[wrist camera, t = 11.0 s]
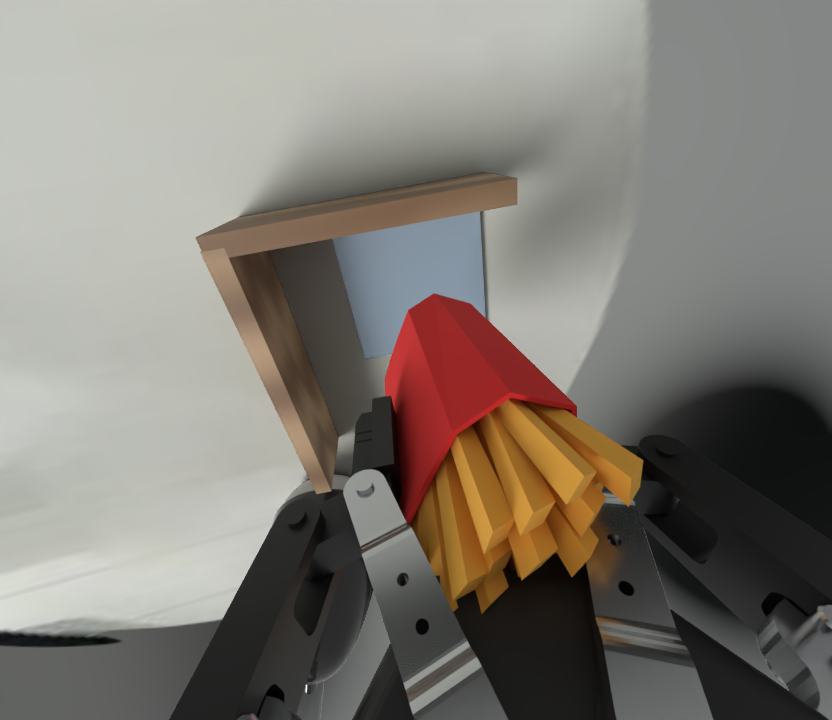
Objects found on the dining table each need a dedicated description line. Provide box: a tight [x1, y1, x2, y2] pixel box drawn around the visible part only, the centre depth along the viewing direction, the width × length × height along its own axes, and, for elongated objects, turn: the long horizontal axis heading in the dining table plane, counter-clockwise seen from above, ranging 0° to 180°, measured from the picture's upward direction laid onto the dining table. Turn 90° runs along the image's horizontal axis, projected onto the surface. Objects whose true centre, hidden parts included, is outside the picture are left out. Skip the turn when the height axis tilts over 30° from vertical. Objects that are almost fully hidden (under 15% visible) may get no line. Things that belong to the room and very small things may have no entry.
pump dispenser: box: [272, 475, 373, 694], centre depth 30 cm, size 10×10×15 cm
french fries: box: [385, 293, 643, 613], centre depth 12 cm, size 8×4×12 cm, turn 162°
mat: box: [332, 211, 486, 359], centre depth 25 cm, size 10×10×1 cm
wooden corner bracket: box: [196, 172, 517, 494], centre depth 25 cm, size 20×16×6 cm
